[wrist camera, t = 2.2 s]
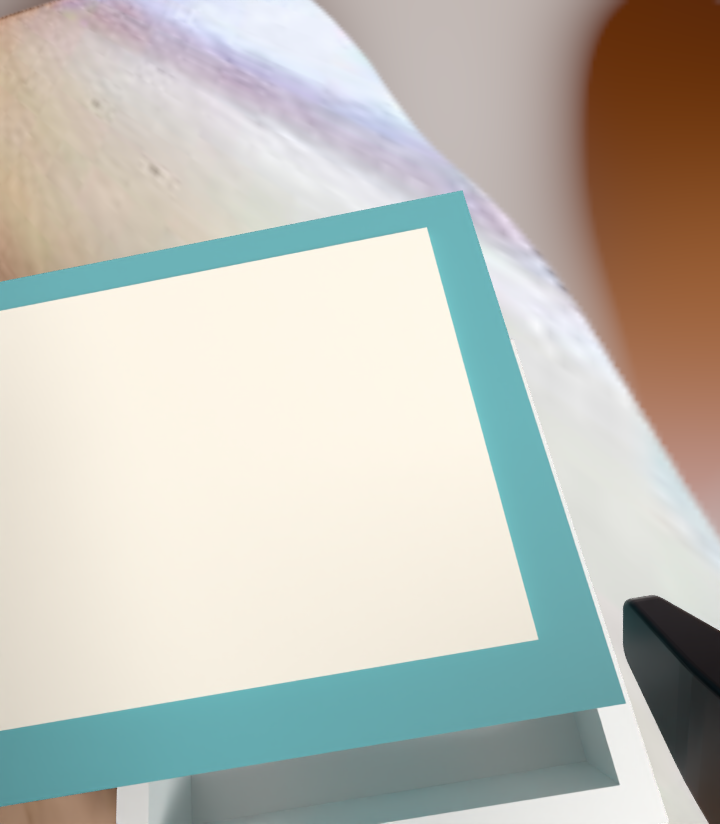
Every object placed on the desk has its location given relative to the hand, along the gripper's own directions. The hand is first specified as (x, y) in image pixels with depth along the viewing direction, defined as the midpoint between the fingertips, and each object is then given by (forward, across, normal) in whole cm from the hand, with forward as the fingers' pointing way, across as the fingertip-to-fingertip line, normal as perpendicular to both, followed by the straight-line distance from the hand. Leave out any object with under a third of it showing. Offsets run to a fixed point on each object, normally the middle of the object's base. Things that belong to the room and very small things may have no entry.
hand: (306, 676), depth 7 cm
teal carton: (+8, 0, +5) cm, 10 cm away
